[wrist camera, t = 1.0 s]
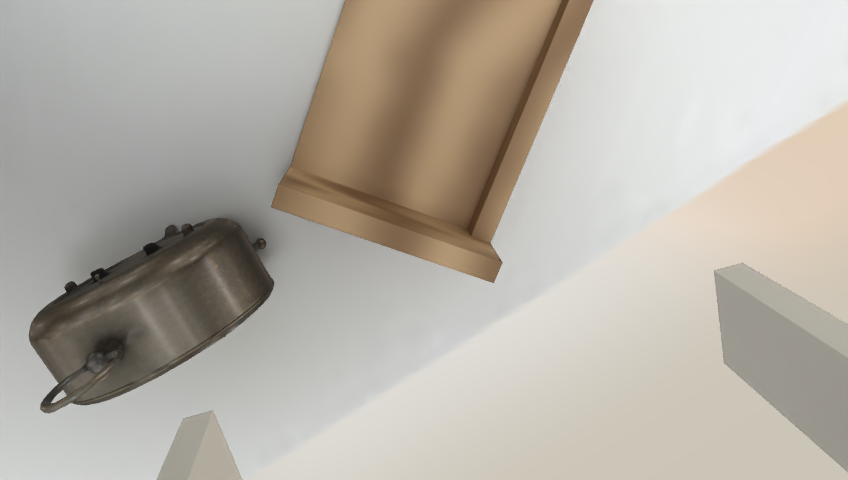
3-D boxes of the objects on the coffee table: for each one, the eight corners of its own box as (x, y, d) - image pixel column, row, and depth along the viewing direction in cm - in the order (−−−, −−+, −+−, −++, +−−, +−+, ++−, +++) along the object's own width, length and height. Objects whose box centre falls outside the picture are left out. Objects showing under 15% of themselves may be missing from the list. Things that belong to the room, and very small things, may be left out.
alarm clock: (133, 334, 39) (-20, 519, 24) (82, 259, 38) (-118, 406, 22) (292, 256, 39) (241, 395, 23) (246, 177, 37) (159, 269, 22)
